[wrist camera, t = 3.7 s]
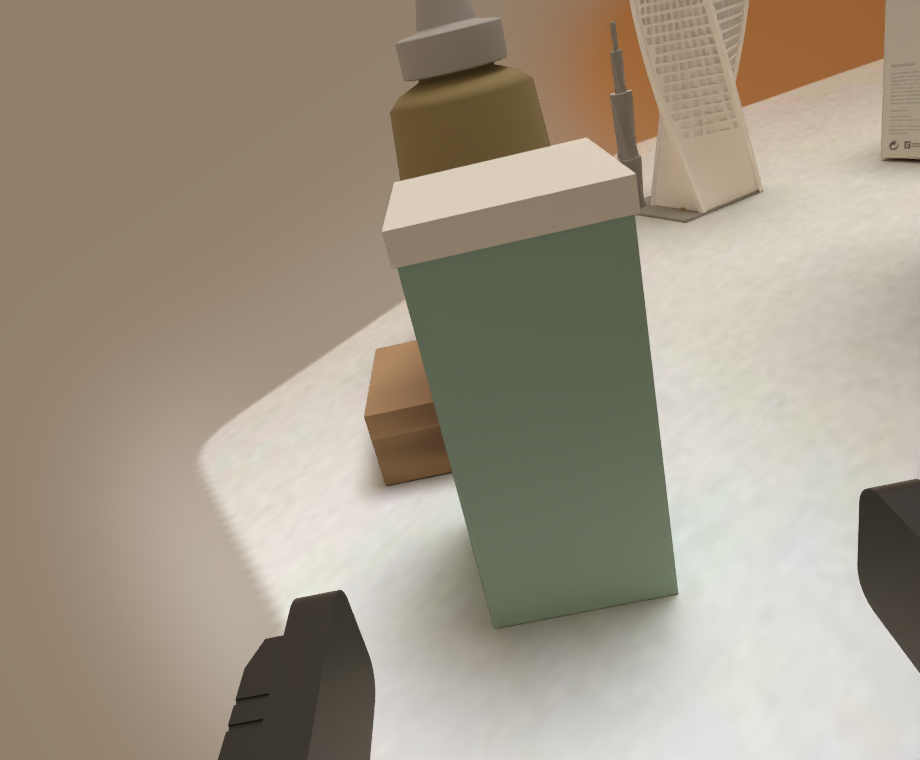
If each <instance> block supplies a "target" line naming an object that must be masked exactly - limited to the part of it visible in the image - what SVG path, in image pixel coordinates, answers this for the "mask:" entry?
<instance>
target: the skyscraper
mask: <svg viewBox="0 0 920 760" xmlns="http://www.w3.org/2000/svg"><path fill="white" fill-rule="evenodd" d="M630 5H631V11H632V16H633V20H634V25H635V29H636V33H637V37H638V41H639V46H640V49H641V53H642V56H643V60H644V63H645V67H646V70H647V74H648V77H649V80H650V83H651V87H652V90H653V93H654V96H655V99H656V102H657V105H658V108H659V111H660V118H659V126H658V135H657V144H656V153H655V163H654V172H653V181H652V191H651V196H649V197H647V198H644V196H643V180H642V162H641V156H640V155H639V154H638V150H637V146H636V136H635V123H634V110H633V99H632V91H631V90H626V86H625V79H624V66H623V55H622V50H619V49H618V43H617V33H616V24H615V23H616V22H610V27H611V34H612V42H613V51H612V52H610V55H611V63H612V70H613V77H614V84H615V93H612V94H610V99H611V105H612V113H613V120H614V126H615V133H616V140H617V147H618V159H617V160H618V161H619V162H621V163H622V164H623V165H625V166H626V167H628V168H629V169H630V170H632V171H633V172H634V173H636V176H637V185H638V194H639V203H640V212H641V213H639V214H635V215H641V216H647V217H653V218H659V219H665V220H672V221H678V222H684V223H686V222H689V221H691V220H694V219H696V218H699V217H701V216H704V215H706V214H708V213H711V212H713V211H716V210H718V209H721V208H723V207H726V206H728V205H730V204H733V203H735V202H738V201H740V200H743V199H745V198H747V197H750V196H752V195H755V194H757V193H760V192H762V191H763V188H762V184H761V180H760V176H759V172H758V168H757V164H756V160H755V156H754V153H753V149H752V145H751V141H750V137H749V133H748V129H747V125H746V122H745V118H744V114H743V110H742V106H741V103H740V99H739V95H738V91H737V87H736V84H735V81H736V77H737V72H738V67H739V61H740V56H741V51H742V45H743V40H744V33H745V25H746V19H747V12H748V5H749V0H630Z"/></svg>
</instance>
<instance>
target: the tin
mask: <svg viewBox="0 0 920 760" xmlns="http://www.w3.org/2000/svg"><path fill="white" fill-rule="evenodd" d="M639 213H641V212H640V203H639V194H638V185H637V176H636V173H634V172H633V171H632V170H630V169H629V168H628V167H626V166H625V165H623V164H622V163H621V162H619V161H618V160H617V159H615V158H614V157H612V156H611V155H610V154H608V153H607V152H605V151H604V150H603V149H601V148H600V147H598V146H597V145H596V144H595V143H593V142H592V141H590V140H589V139H588V138H583V139H579V140H575V141H570V142H566V143H562V144H557V145H553V146H549V147H544V148H540V149H536V150H532V151H527V152H523V153H519V154H514V155H510V156H506V157H502V158H497V159H493V160H489V161H484V162H480V163H476V164H472V165H467V166H463V167H459V168H454V169H450V170H446V171H441V172H437V173H433V174H429V175H424V176H420V177H416V178H411V179H407V180H403V181H399V182H395V183H394V186H393V190H392V194H391V198H390V202H389V206H388V210H387V214H386V218H385V222H384V226H383V230H382V234H383V238H384V242H385V245H386V249H387V253H388V256H389V260H390V263H391V267H392V269H395V268H397V269H398V273H399V276H400V280H401V284H402V287H403V291H404V295H405V299H406V302H407V306H408V310H409V313H410V317H411V321H412V325H413V328H414V332H415V336H416V339H417V343H418V347H419V351H420V354H421V358H422V362H423V365H424V369H425V373H426V377H427V380H428V384H429V388H430V391H431V395H432V399H433V403H434V406H435V410H436V414H437V418H438V421H439V425H440V429H441V432H442V436H443V440H444V444H445V447H446V451H447V455H448V458H449V462H450V466H451V470H452V473H453V477H454V481H455V484H456V488H457V492H458V496H459V499H460V503H461V507H462V510H463V514H464V518H465V522H466V525H467V529H468V533H469V536H470V540H471V544H472V548H473V551H474V555H475V559H476V562H477V566H478V570H479V574H480V577H481V581H482V585H483V588H484V592H485V596H486V600H487V603H488V607H489V611H490V614H491V618H492V622H493V626H494V629H495V628H500V627H506V626H511V625H516V624H522V623H527V622H532V621H537V620H543V619H548V618H553V617H558V616H564V615H569V614H574V613H580V612H585V611H590V610H595V609H601V608H606V607H611V606H617V605H622V604H627V603H632V602H638V601H643V600H648V599H653V598H659V597H664V596H669V595H675V594H678V588H677V579H676V570H675V562H674V553H673V544H672V535H671V527H670V518H669V509H668V501H667V492H666V483H665V475H664V466H663V457H662V448H661V440H660V431H659V422H658V414H657V405H656V396H655V388H654V379H653V370H652V361H651V353H650V344H649V335H648V327H647V318H646V309H645V300H644V292H643V283H642V274H641V266H640V257H639V248H638V240H637V231H636V222H635V214H639Z"/></svg>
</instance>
